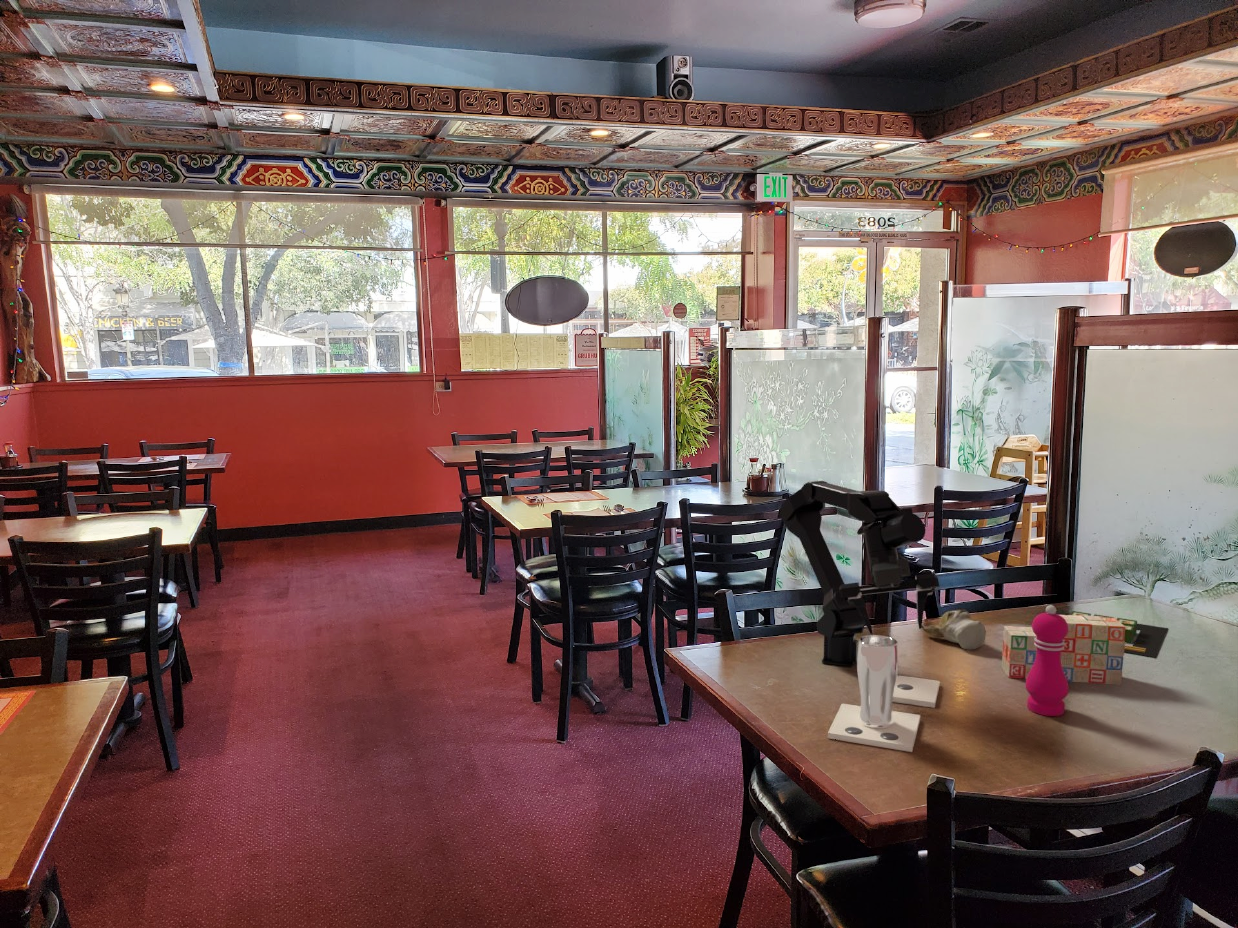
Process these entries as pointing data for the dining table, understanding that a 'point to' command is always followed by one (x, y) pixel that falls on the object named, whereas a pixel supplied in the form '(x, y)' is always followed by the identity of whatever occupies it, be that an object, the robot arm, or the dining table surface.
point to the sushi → (1145, 641)
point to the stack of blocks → (1072, 650)
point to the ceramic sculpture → (959, 629)
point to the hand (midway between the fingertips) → (895, 631)
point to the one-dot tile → (916, 691)
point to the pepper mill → (1048, 665)
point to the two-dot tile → (892, 737)
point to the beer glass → (877, 679)
